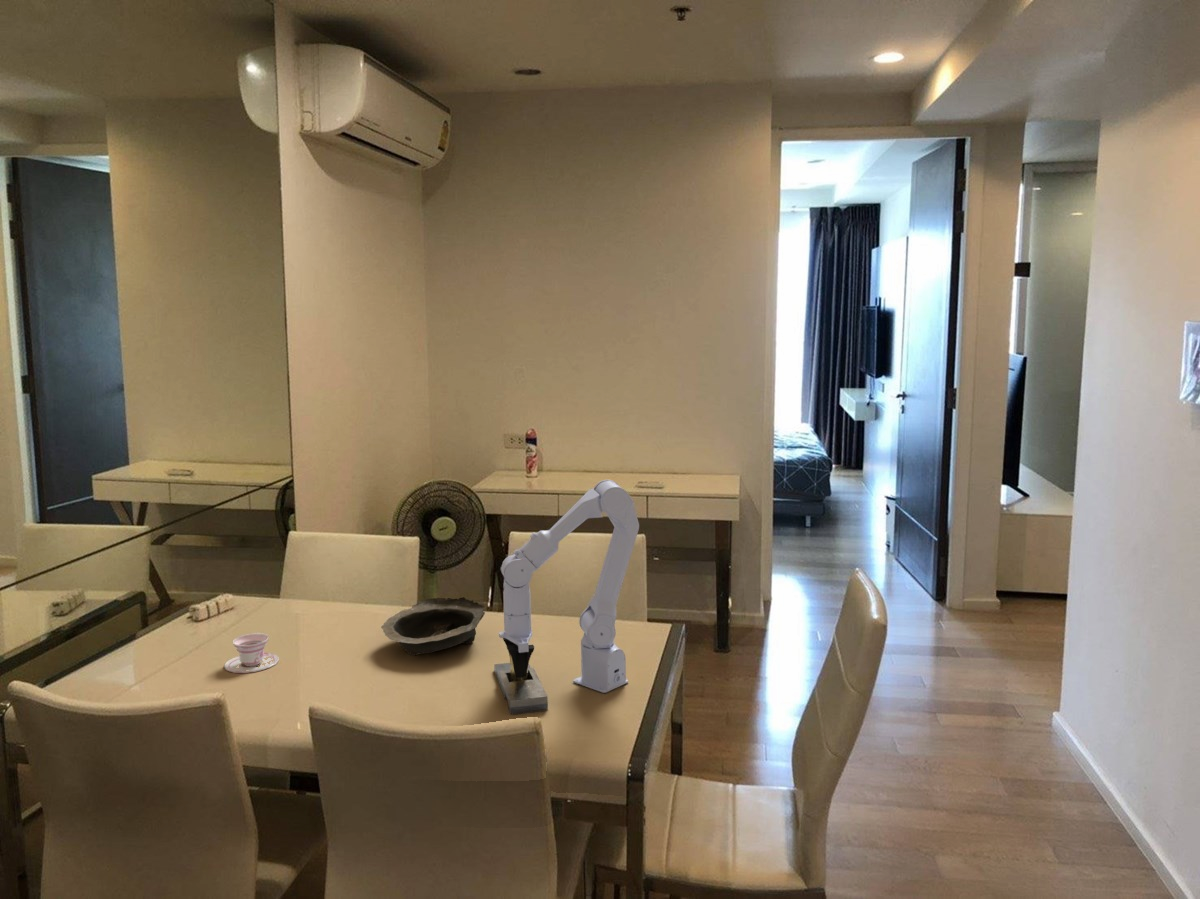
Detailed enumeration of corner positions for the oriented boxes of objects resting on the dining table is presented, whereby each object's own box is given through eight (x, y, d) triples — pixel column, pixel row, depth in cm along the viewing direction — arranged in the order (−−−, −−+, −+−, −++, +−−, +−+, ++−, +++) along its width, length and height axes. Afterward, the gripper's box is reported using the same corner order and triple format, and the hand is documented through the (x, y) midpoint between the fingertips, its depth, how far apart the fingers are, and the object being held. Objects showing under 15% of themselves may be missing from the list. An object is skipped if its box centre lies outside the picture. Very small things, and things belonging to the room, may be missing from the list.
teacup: (261, 675, 209) (259, 649, 208) (213, 672, 211) (211, 646, 210) (288, 656, 220) (287, 631, 219) (243, 653, 223) (241, 628, 222)
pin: (531, 683, 198) (530, 647, 197) (518, 688, 196) (517, 652, 195) (519, 679, 201) (518, 643, 200) (507, 684, 198) (506, 648, 197)
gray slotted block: (494, 670, 209) (494, 658, 209) (527, 667, 211) (527, 654, 210) (510, 714, 186) (510, 700, 186) (547, 710, 188) (547, 696, 187)
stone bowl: (495, 628, 237) (494, 594, 234) (472, 673, 212) (471, 635, 210) (401, 625, 239) (399, 591, 237) (368, 669, 215) (365, 632, 213)
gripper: (493, 603, 202) (495, 662, 204) (503, 624, 188) (505, 688, 190) (525, 600, 204) (527, 659, 206) (537, 621, 190) (539, 684, 192)
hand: (519, 673), depth 198 cm, fingers closed on pin, 4 cm apart
